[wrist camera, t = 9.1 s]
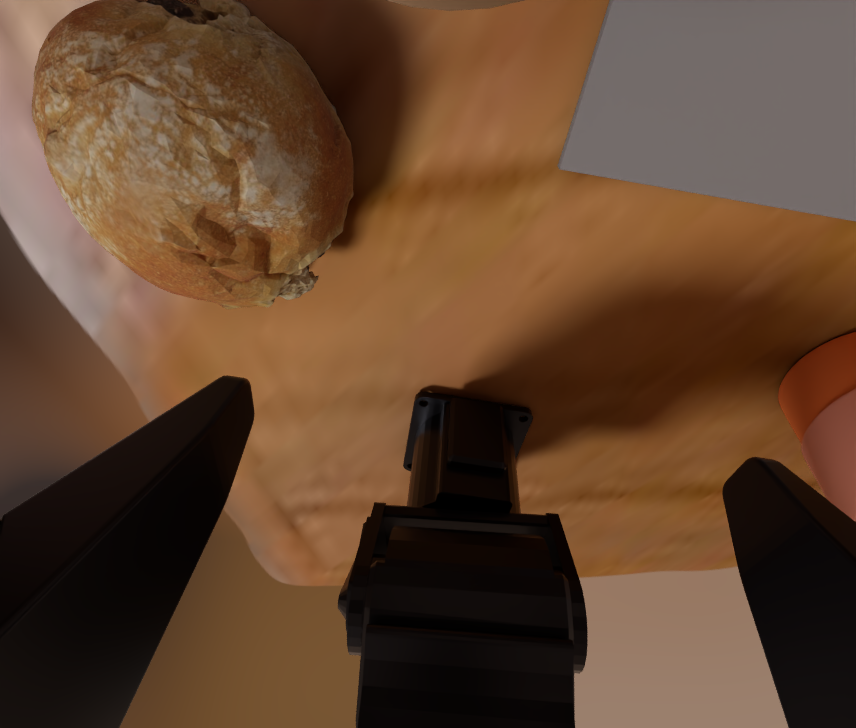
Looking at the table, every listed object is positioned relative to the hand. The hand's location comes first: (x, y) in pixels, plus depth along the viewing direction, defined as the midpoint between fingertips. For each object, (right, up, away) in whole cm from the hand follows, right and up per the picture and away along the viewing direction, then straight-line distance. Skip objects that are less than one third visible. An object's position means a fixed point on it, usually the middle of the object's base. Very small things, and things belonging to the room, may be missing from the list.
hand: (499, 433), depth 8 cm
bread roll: (-9, +9, +10) cm, 16 cm away
